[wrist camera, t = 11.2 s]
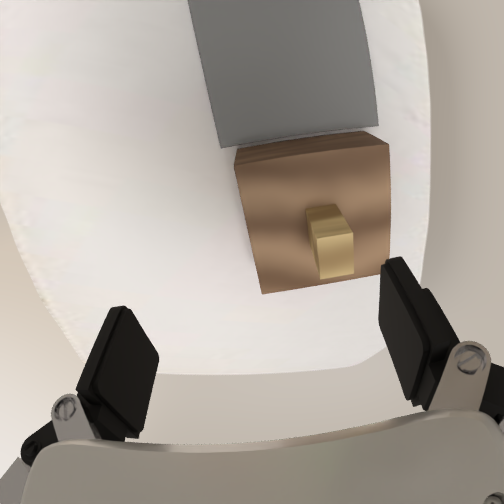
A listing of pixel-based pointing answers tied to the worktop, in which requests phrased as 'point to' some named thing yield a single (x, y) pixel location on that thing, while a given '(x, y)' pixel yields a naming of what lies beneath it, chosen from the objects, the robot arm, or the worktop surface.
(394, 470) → the robot arm
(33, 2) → the worktop surface
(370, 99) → the rubber mat
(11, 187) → the worktop surface
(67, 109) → the worktop surface
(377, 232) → the square lid with knob
